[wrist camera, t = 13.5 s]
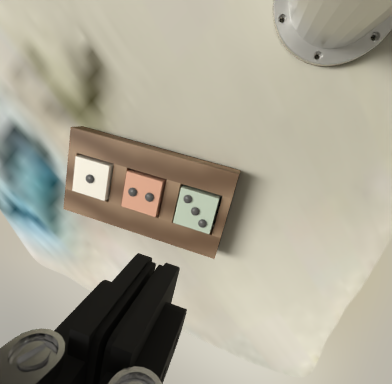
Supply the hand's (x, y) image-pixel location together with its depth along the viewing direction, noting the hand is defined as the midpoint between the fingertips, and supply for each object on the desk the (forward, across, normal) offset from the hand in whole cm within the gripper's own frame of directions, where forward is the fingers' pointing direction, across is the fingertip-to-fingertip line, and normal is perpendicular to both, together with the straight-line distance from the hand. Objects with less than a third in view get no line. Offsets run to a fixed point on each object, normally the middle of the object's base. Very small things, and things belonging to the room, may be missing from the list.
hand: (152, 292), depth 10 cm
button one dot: (+27, +18, +6) cm, 33 cm away
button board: (+27, +10, +6) cm, 30 cm away
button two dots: (+27, +10, +6) cm, 29 cm away
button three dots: (+27, +2, +6) cm, 28 cm away
